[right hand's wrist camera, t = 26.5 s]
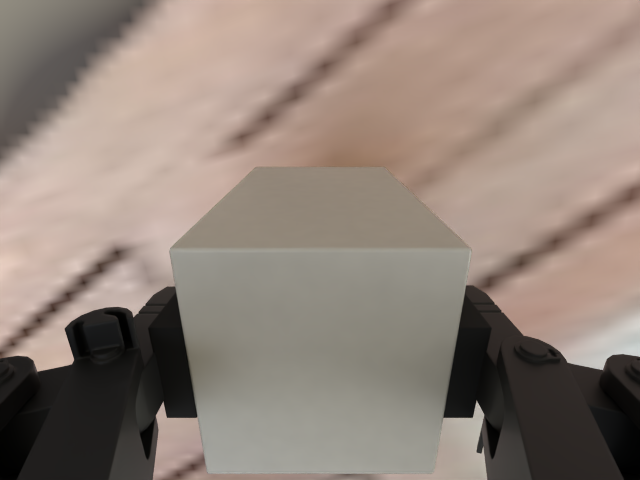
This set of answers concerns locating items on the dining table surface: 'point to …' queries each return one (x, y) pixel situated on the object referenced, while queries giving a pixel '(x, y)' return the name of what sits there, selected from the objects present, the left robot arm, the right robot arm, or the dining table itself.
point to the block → (320, 323)
